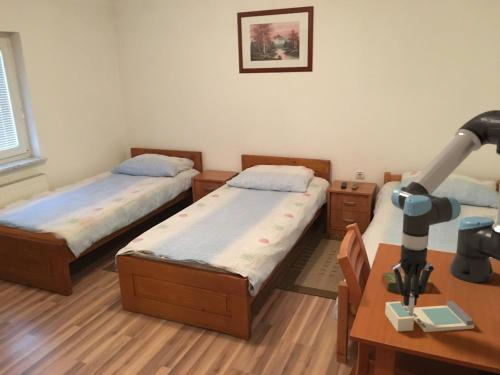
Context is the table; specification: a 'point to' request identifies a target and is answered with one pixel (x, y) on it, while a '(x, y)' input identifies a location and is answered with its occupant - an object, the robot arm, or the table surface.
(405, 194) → the robot arm
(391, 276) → the carton
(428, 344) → the table surface
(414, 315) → the cream teal-inset panel
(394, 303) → the stub
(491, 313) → the table surface
